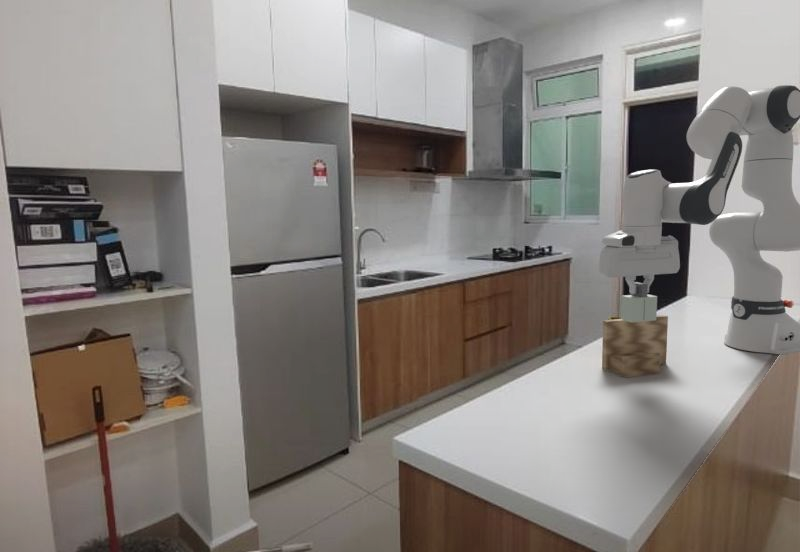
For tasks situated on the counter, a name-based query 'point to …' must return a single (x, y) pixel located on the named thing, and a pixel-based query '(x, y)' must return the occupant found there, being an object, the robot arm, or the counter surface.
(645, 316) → the pale green box
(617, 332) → the wall board
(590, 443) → the counter surface
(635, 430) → the counter surface
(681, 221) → the robot arm
